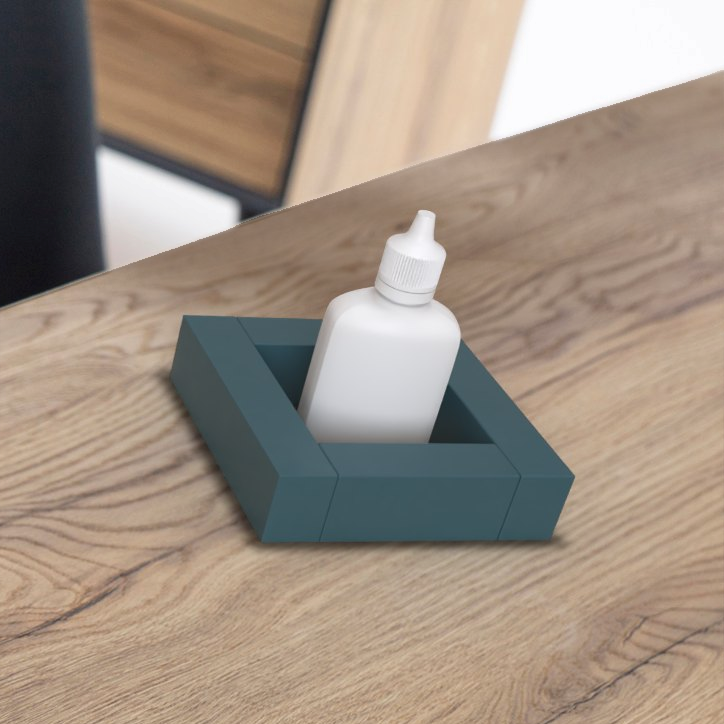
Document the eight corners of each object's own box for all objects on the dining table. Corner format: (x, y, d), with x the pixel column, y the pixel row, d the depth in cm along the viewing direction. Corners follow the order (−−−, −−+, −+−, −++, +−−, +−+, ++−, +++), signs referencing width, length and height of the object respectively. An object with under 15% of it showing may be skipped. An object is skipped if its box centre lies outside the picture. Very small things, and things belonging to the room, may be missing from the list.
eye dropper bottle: (307, 429, 78) (378, 175, 71) (424, 474, 76) (509, 219, 69) (271, 469, 75) (342, 207, 67) (393, 516, 73) (479, 254, 66)
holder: (423, 397, 82) (448, 321, 80) (544, 557, 73) (576, 476, 70) (165, 394, 79) (182, 314, 76) (256, 560, 69) (279, 475, 67)
